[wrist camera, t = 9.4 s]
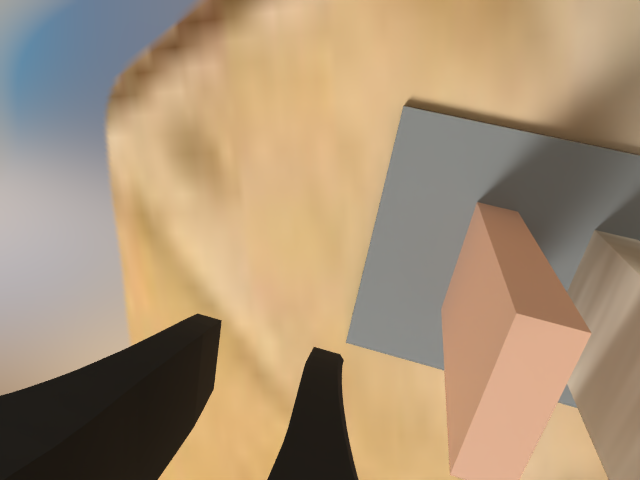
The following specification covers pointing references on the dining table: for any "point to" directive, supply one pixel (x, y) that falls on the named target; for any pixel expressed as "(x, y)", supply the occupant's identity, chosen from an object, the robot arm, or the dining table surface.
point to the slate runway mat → (457, 210)
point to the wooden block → (610, 351)
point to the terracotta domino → (504, 347)
